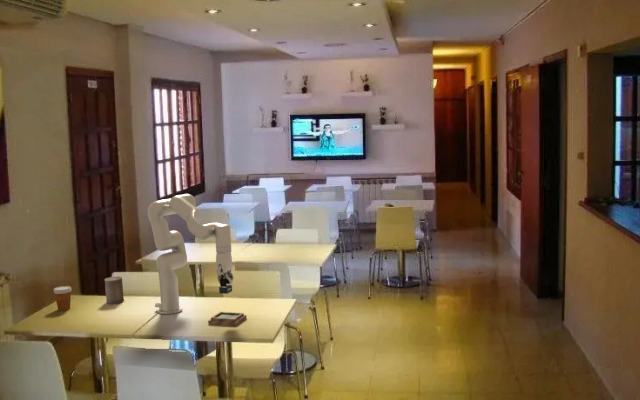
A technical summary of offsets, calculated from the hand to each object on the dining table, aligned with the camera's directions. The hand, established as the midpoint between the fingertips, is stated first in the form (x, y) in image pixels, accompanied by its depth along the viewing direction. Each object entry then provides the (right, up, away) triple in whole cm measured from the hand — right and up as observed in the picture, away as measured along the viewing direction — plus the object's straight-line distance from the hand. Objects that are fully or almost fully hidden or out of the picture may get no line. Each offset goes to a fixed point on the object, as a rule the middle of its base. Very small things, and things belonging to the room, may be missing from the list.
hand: (225, 284), depth 369 cm
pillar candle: (-69, -16, +50) cm, 87 cm away
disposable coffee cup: (-94, -18, +38) cm, 103 cm away
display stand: (+1, -19, +2) cm, 19 cm away
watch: (0, -4, 0) cm, 4 cm away
